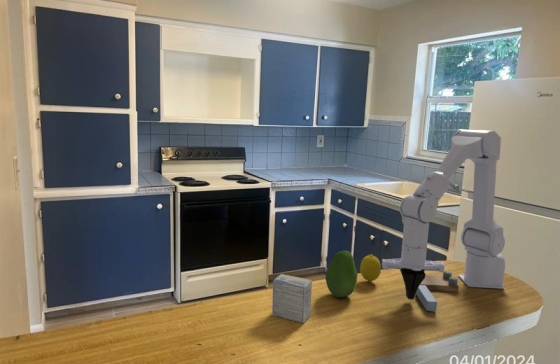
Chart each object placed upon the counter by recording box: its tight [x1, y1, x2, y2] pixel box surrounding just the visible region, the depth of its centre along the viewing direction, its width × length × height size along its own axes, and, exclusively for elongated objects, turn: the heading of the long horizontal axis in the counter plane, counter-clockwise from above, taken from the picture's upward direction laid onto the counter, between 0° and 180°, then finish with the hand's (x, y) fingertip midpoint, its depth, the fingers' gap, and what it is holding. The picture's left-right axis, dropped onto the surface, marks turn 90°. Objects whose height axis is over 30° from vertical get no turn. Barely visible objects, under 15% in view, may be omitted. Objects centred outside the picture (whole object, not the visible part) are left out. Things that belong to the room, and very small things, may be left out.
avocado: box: [325, 250, 358, 299], centre depth 101 cm, size 8×8×12 cm
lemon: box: [359, 253, 382, 283], centre depth 111 cm, size 6×6×8 cm
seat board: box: [421, 270, 460, 293], centre depth 111 cm, size 12×7×3 cm, turn 86°
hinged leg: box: [415, 285, 438, 312], centre depth 100 cm, size 11×2×2 cm, turn 176°
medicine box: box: [271, 273, 313, 324], centre depth 91 cm, size 8×4×9 cm, turn 65°
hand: (409, 297), depth 100 cm, fingers closed
